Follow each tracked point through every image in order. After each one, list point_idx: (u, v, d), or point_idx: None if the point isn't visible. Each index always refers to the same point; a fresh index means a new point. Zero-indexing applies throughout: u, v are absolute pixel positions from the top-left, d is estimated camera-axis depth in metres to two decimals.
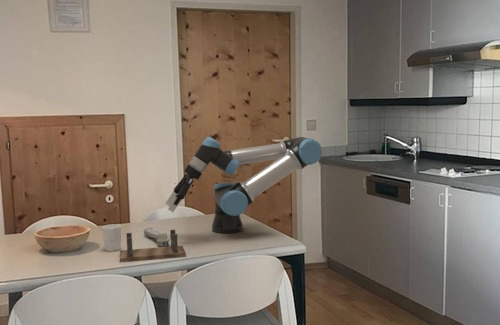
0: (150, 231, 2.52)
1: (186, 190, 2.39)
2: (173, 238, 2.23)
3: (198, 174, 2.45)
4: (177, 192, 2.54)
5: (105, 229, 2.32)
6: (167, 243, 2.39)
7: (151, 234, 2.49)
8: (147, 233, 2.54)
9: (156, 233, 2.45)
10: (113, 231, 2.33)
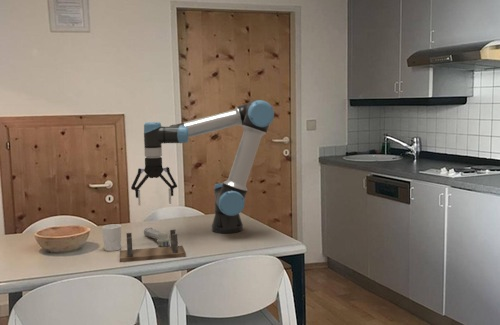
0: (150, 231, 2.52)
1: (134, 180, 2.43)
2: (173, 238, 2.23)
3: (146, 161, 2.42)
4: (170, 187, 2.47)
5: (105, 229, 2.32)
6: (167, 243, 2.39)
7: (151, 234, 2.49)
8: (147, 233, 2.54)
9: (156, 233, 2.45)
10: (113, 231, 2.33)
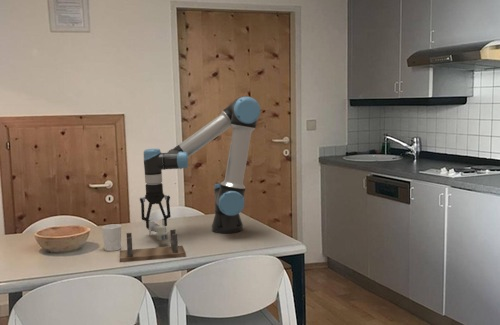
0: (151, 225, 2.52)
1: (141, 210, 2.45)
2: (173, 238, 2.23)
3: (147, 187, 2.44)
4: None
5: (105, 229, 2.32)
6: (166, 236, 2.38)
7: (152, 228, 2.49)
8: None
9: (156, 227, 2.45)
10: (113, 231, 2.33)
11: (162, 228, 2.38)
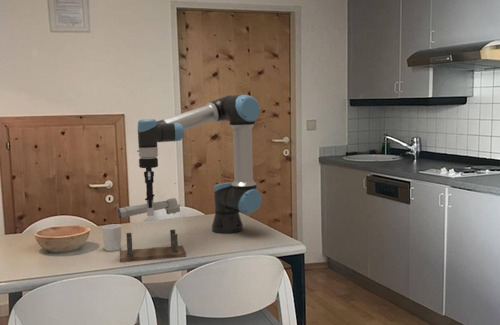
0: (139, 207, 2.22)
1: (151, 188, 2.18)
2: (173, 238, 2.23)
3: (153, 161, 2.20)
4: None
5: (105, 229, 2.32)
6: None
7: (146, 208, 2.23)
8: (132, 211, 2.21)
9: (159, 203, 2.25)
10: (113, 231, 2.33)
11: (176, 200, 2.28)
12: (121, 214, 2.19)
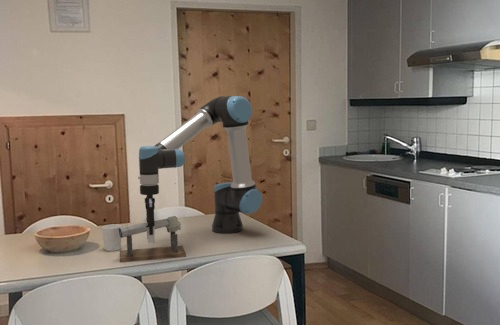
0: (140, 226, 2.22)
1: (152, 216, 2.18)
2: (173, 238, 2.23)
3: (155, 188, 2.20)
4: None
5: (105, 229, 2.32)
6: None
7: None
8: (133, 230, 2.20)
9: (160, 222, 2.25)
10: (113, 231, 2.33)
11: (176, 218, 2.28)
12: (122, 233, 2.18)
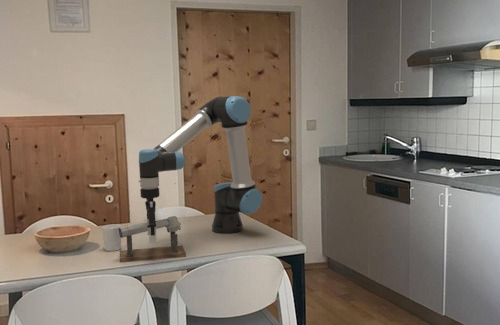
0: (140, 226, 2.22)
1: (153, 215, 2.16)
2: (173, 238, 2.23)
3: (155, 192, 2.21)
4: None
5: (105, 229, 2.32)
6: None
7: None
8: (133, 230, 2.20)
9: (160, 222, 2.25)
10: (113, 231, 2.33)
11: None
12: (122, 233, 2.18)
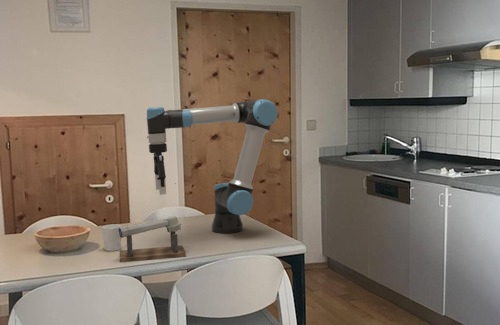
0: (140, 226, 2.22)
1: (163, 168, 2.30)
2: (173, 238, 2.23)
3: (163, 146, 2.35)
4: None
5: (105, 229, 2.32)
6: None
7: (147, 227, 2.22)
8: (133, 230, 2.20)
9: (160, 222, 2.25)
10: (113, 231, 2.33)
11: (176, 218, 2.28)
12: (122, 233, 2.18)
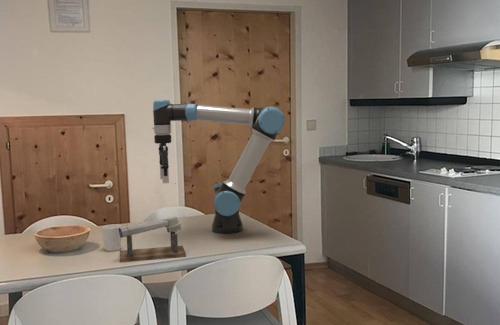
0: (140, 226, 2.22)
1: (166, 158, 2.41)
2: (173, 238, 2.23)
3: (168, 137, 2.45)
4: None
5: (105, 229, 2.32)
6: None
7: (147, 227, 2.22)
8: (133, 230, 2.20)
9: (160, 222, 2.25)
10: (113, 231, 2.33)
11: None
12: (122, 233, 2.18)
